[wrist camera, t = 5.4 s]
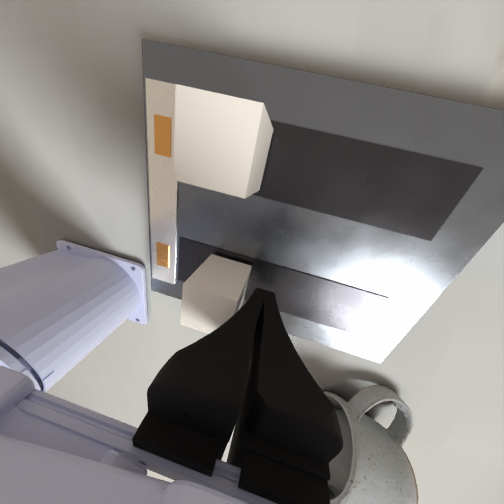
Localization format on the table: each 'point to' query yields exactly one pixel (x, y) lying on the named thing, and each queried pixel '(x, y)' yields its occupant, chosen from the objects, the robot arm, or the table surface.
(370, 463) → the ceramic mug
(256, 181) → the switch tab
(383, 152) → the switch panel
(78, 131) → the table surface
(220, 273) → the switch tab
